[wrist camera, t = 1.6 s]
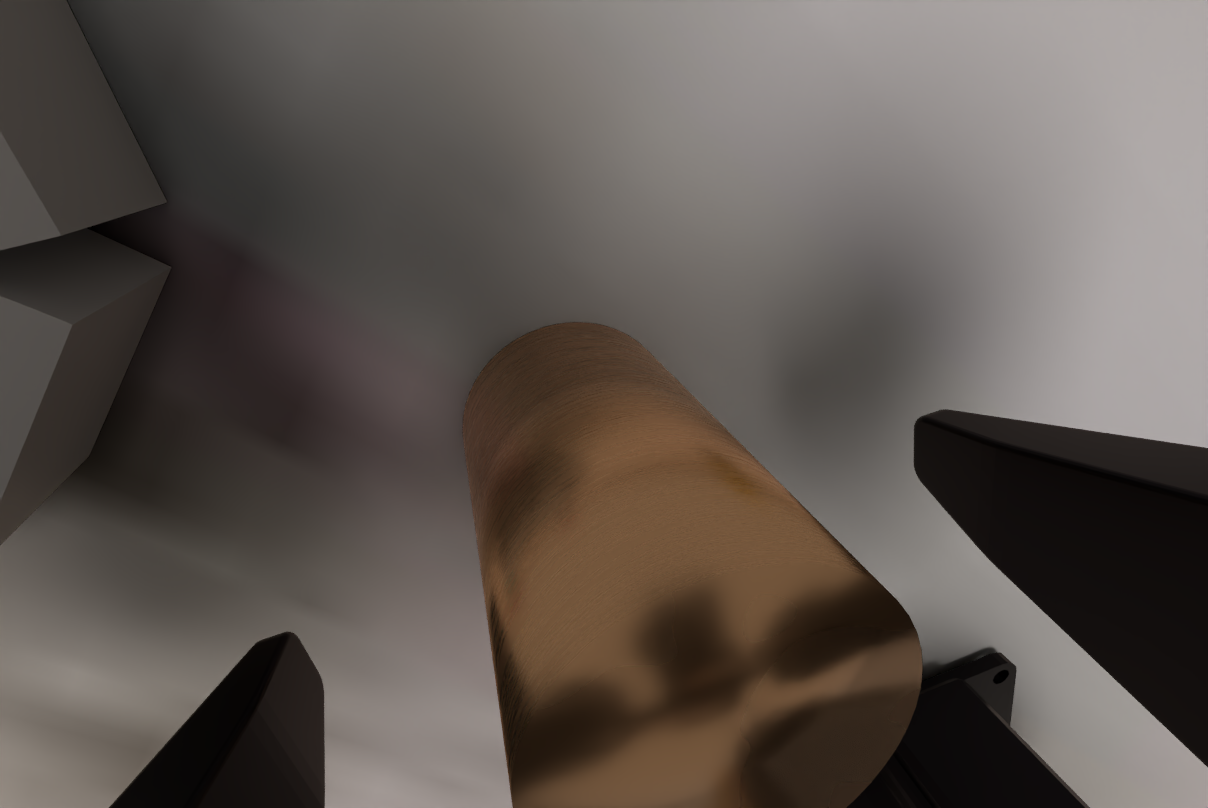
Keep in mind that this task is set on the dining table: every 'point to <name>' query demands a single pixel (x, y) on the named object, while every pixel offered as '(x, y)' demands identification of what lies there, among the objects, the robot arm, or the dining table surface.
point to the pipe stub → (666, 597)
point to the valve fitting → (62, 252)
